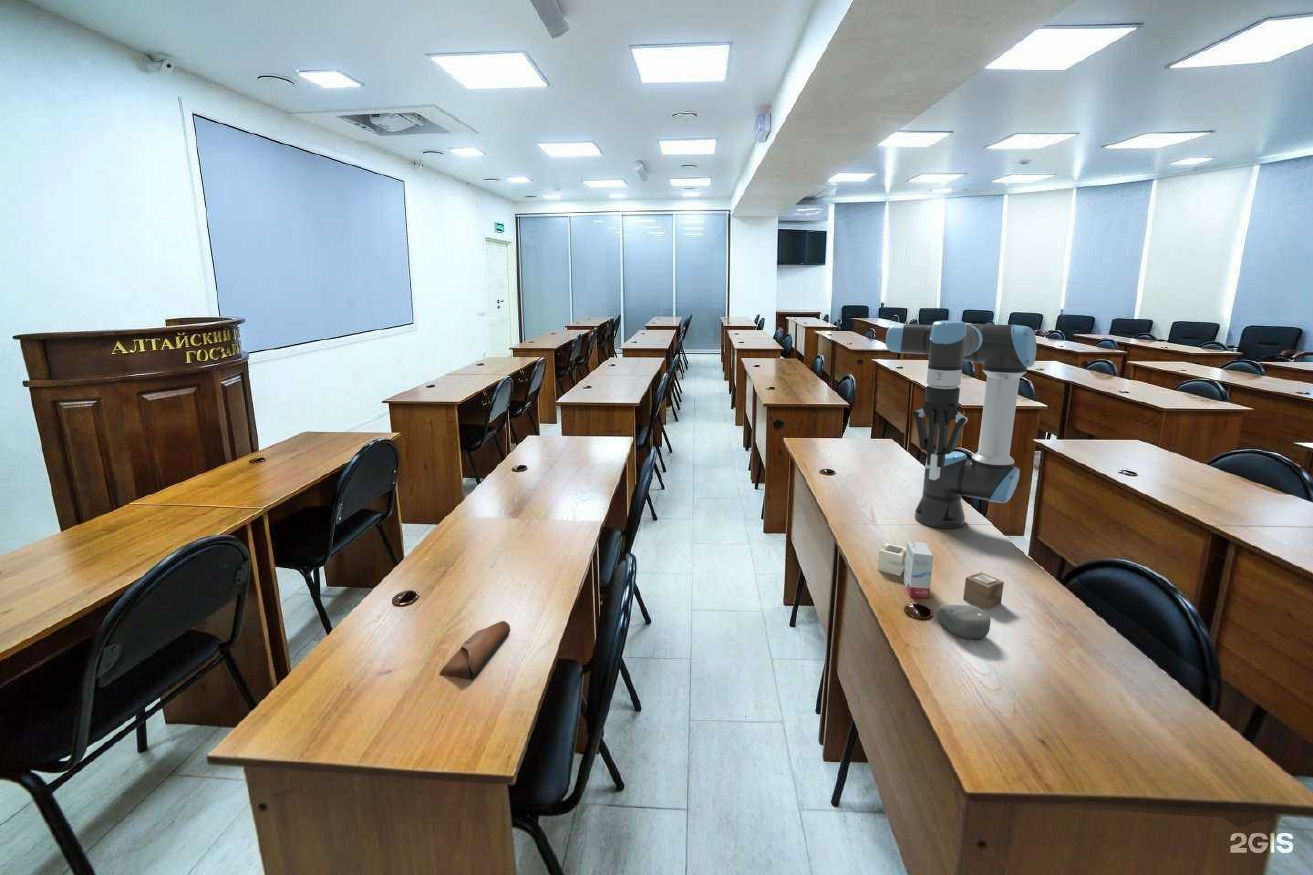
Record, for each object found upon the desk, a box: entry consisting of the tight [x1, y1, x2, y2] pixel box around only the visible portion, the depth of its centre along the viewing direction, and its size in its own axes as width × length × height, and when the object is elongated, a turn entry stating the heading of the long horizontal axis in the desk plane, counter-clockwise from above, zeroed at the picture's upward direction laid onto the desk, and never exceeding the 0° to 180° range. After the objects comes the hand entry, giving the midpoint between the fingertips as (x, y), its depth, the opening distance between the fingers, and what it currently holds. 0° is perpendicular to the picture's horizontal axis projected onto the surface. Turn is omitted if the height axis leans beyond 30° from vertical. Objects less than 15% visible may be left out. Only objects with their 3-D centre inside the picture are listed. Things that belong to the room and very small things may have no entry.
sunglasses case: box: [439, 620, 511, 681], centre depth 134 cm, size 18×7×7 cm
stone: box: [936, 604, 991, 641], centre depth 140 cm, size 9×9×10 cm
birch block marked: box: [877, 542, 907, 577], centre depth 171 cm, size 6×6×6 cm
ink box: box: [903, 540, 934, 599], centre depth 158 cm, size 9×5×12 cm, turn 168°
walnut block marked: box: [963, 571, 1005, 611], centre depth 153 cm, size 6×6×6 cm
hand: (934, 478), depth 155 cm, fingers closed
